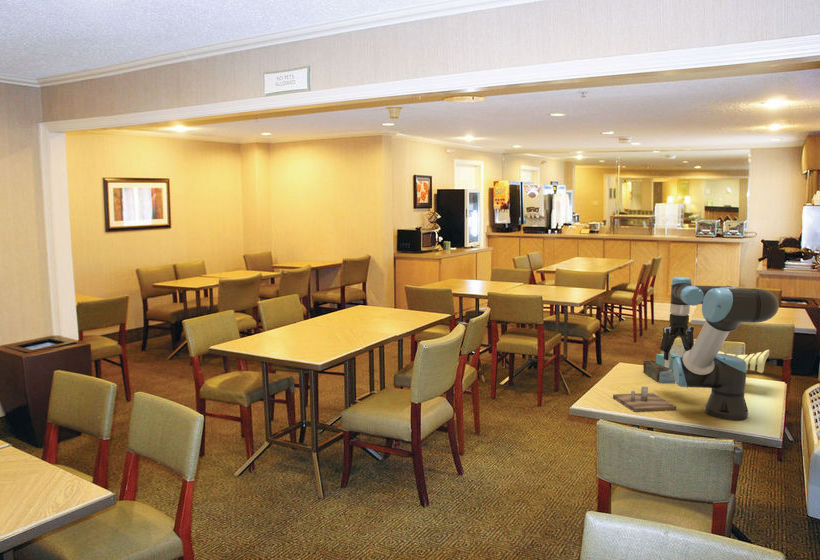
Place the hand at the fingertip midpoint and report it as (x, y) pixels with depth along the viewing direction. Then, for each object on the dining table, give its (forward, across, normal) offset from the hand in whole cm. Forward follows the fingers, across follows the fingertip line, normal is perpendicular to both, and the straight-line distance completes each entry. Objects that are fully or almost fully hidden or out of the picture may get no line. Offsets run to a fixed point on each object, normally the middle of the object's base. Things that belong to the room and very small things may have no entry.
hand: (676, 366), depth 271 cm
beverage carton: (+14, -13, -27) cm, 33 cm away
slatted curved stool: (+13, -34, -8) cm, 38 cm away
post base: (+13, +19, +5) cm, 23 cm away
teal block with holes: (0, 0, 0) cm, 0 cm away
